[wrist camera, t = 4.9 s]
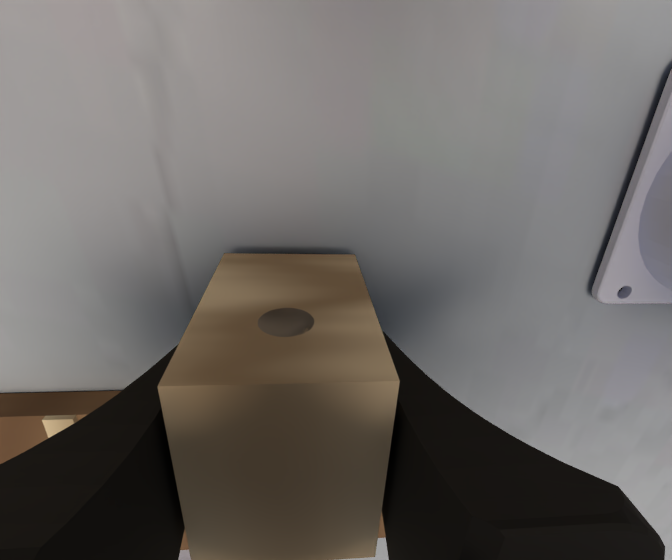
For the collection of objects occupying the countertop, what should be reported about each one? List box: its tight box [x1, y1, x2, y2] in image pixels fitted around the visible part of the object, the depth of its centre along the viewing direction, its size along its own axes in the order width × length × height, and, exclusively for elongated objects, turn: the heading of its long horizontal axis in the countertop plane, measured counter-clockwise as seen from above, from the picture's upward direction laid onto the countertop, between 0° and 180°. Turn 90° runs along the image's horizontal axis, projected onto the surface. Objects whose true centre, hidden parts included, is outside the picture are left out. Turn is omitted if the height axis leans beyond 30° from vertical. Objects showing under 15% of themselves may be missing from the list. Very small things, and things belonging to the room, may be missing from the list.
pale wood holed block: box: [157, 253, 400, 560], centre depth 11 cm, size 4×8×6 cm, turn 178°
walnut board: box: [0, 391, 386, 550], centre depth 16 cm, size 16×8×1 cm, turn 88°
